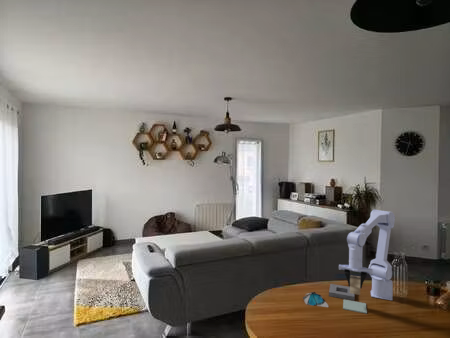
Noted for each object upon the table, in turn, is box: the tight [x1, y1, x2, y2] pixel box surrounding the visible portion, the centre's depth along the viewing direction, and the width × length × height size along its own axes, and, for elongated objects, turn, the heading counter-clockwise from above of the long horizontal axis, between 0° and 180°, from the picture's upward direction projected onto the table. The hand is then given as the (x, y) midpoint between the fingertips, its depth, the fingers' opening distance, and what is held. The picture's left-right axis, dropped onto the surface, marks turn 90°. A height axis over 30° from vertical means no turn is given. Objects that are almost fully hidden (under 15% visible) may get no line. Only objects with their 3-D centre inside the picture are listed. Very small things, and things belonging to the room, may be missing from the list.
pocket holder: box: [328, 283, 355, 301], centre depth 153 cm, size 12×12×2 cm
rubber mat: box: [342, 299, 368, 315], centre depth 139 cm, size 10×10×1 cm
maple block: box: [350, 274, 361, 296], centre depth 139 cm, size 4×4×7 cm
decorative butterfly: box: [302, 291, 329, 308], centre depth 143 cm, size 10×6×10 cm
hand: (355, 286), depth 139 cm, fingers closed on maple block, 4 cm apart
